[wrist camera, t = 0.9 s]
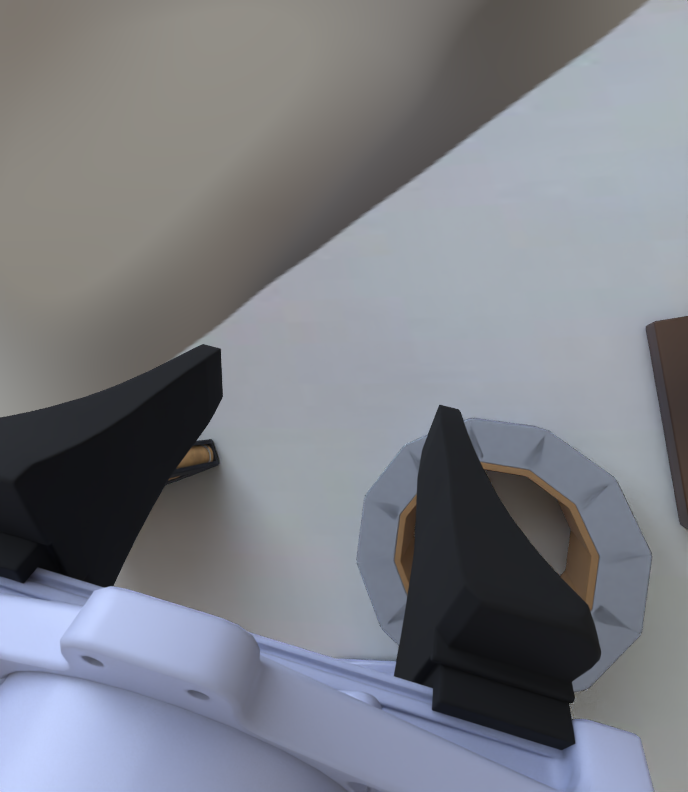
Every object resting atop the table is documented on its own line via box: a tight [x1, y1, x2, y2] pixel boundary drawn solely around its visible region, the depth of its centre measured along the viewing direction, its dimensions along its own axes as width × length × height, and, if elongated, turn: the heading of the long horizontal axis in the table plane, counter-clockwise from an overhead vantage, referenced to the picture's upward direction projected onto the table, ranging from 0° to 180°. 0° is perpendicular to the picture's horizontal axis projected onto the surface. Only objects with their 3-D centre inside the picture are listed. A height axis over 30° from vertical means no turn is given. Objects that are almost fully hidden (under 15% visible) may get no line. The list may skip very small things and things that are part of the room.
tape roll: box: [356, 418, 652, 692], centre depth 22 cm, size 13×13×4 cm
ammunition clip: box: [166, 439, 219, 485], centre depth 25 cm, size 11×2×12 cm, turn 110°
